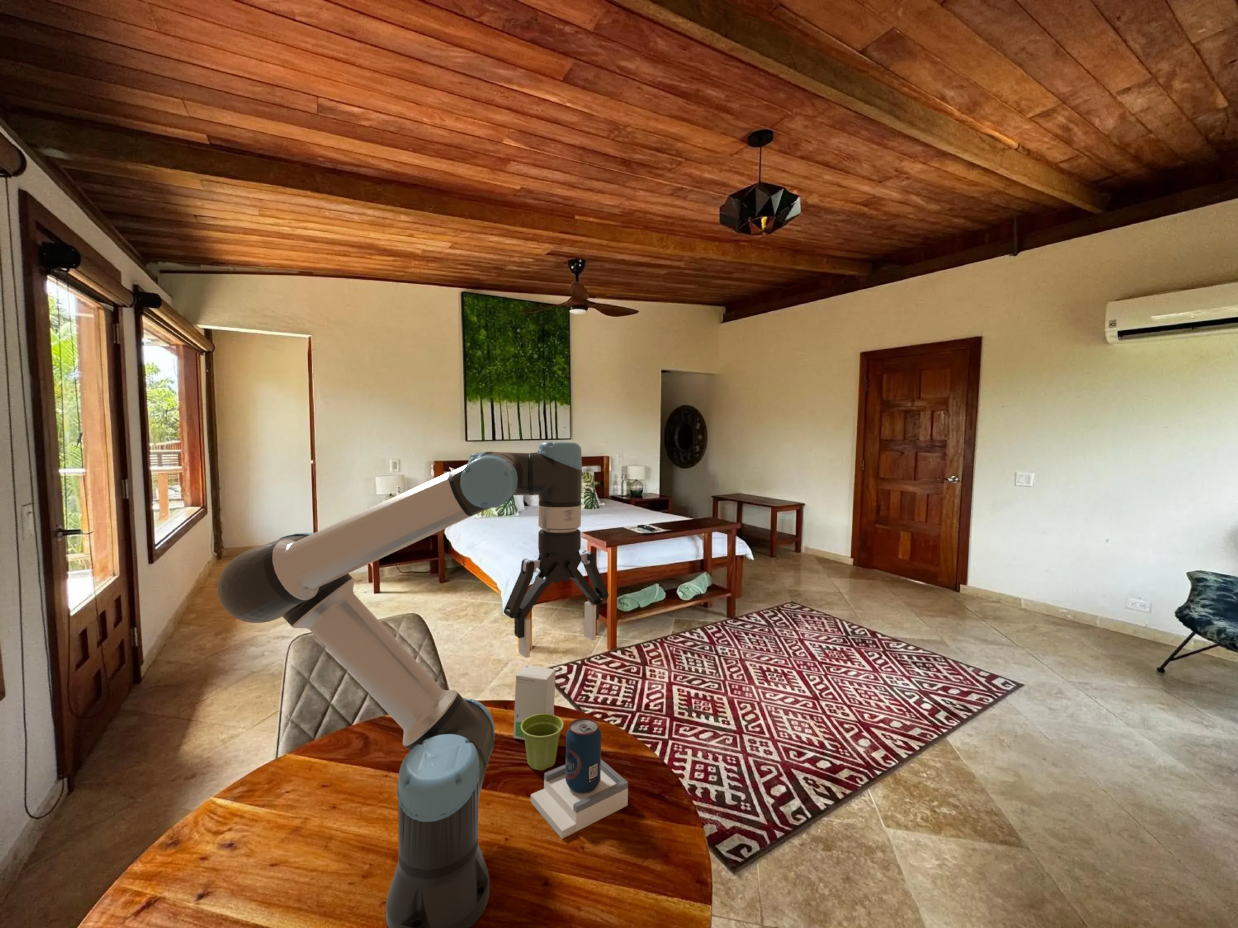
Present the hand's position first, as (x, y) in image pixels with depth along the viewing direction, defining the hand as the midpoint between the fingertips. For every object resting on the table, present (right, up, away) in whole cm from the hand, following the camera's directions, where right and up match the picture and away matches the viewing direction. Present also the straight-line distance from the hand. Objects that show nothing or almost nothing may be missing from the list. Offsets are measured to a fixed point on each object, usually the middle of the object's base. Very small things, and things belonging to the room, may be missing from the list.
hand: (558, 646), depth 95 cm
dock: (+3, -34, +9) cm, 36 cm away
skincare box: (-10, -33, +34) cm, 48 cm away
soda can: (+4, -31, +10) cm, 33 cm away
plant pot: (-6, -34, +22) cm, 41 cm away
